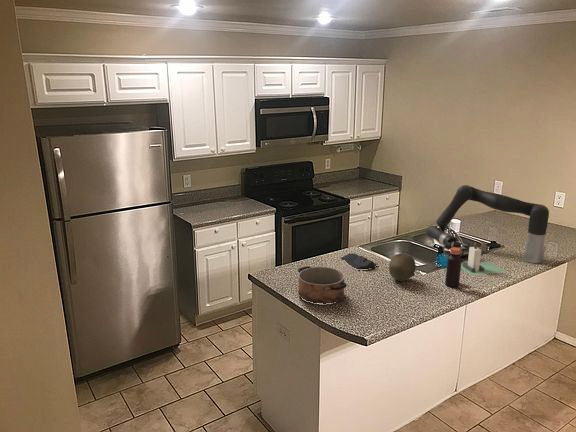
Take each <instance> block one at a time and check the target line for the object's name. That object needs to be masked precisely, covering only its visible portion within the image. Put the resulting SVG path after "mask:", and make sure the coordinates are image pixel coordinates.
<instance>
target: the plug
mask: <svg viewBox="0 0 576 432" xmlns="http://www.w3.org/2000/svg"><path fill="white" fill-rule="evenodd" d="M481 257H482V249H480V248H479V247H478V242H474V245H473V246H470V248H469V251H468V258H467V263H468V266H470V267H472V268H475V271H479V267H480V262H481Z"/></svg>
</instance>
